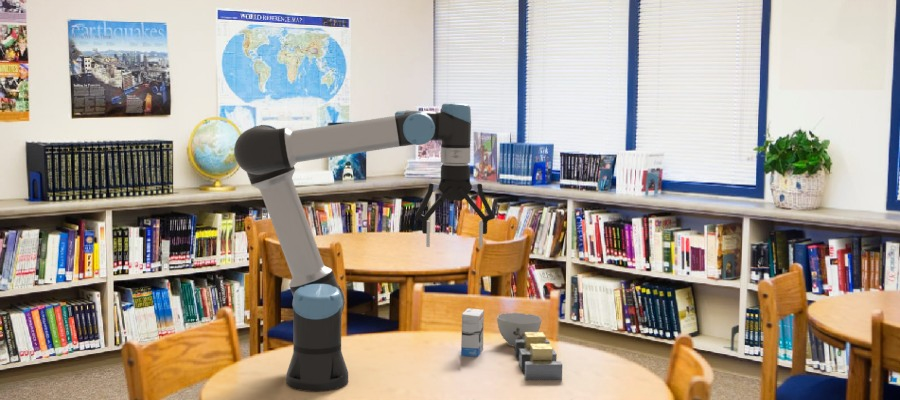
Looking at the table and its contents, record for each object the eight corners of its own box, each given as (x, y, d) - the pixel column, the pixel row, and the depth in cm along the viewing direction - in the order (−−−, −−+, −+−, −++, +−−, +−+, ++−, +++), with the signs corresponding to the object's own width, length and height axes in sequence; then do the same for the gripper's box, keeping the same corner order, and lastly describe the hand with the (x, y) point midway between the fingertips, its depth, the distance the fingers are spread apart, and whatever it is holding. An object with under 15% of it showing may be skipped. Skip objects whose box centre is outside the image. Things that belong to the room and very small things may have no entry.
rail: (526, 382, 246) (526, 364, 245) (514, 355, 270) (515, 339, 269) (561, 382, 246) (562, 364, 246) (547, 355, 270) (548, 339, 270)
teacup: (542, 350, 275) (543, 322, 274) (497, 350, 275) (498, 322, 274) (537, 336, 290) (538, 310, 289) (495, 336, 290) (495, 309, 289)
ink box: (478, 358, 267) (479, 315, 265) (460, 357, 268) (461, 314, 266) (483, 350, 275) (484, 308, 273) (466, 349, 276) (466, 307, 274)
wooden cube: (532, 376, 250) (532, 348, 249) (529, 370, 254) (530, 343, 254) (551, 376, 250) (552, 348, 249) (548, 370, 255) (549, 343, 254)
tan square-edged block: (523, 357, 266) (524, 332, 265) (542, 357, 266) (543, 332, 266) (526, 362, 261) (526, 336, 260) (545, 362, 262) (545, 336, 261)
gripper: (406, 164, 248) (406, 248, 251) (505, 165, 250) (504, 249, 252) (406, 162, 256) (405, 243, 258) (502, 163, 257) (501, 244, 260)
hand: (454, 246), depth 255 cm, fingers open, 13 cm apart
